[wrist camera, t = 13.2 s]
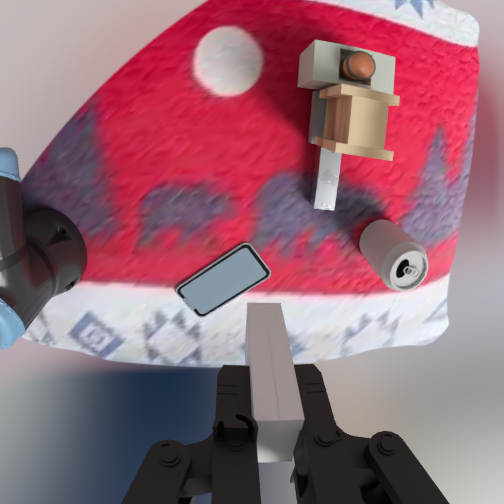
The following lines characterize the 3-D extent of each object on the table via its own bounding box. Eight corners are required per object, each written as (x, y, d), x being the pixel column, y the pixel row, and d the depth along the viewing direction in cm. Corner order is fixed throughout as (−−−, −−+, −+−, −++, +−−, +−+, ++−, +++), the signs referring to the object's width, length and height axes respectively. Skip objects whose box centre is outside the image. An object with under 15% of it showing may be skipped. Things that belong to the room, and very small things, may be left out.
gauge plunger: (335, 79, 33) (346, 75, 30) (337, 53, 32) (348, 47, 28) (362, 84, 33) (374, 81, 30) (364, 59, 32) (376, 54, 28)
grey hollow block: (297, 87, 41) (312, 79, 31) (299, 55, 39) (315, 39, 30) (363, 97, 41) (392, 95, 32) (365, 66, 39) (395, 57, 30)
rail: (309, 203, 48) (314, 208, 45) (321, 90, 41) (326, 88, 38) (328, 204, 48) (334, 210, 45) (341, 93, 41) (347, 92, 38)
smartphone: (273, 275, 52) (200, 319, 55) (273, 272, 53) (201, 317, 56) (247, 240, 49) (173, 289, 52) (247, 238, 50) (173, 287, 53)
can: (366, 212, 48) (399, 240, 37) (404, 223, 49) (440, 253, 38) (351, 254, 51) (377, 291, 40) (388, 263, 52) (419, 299, 41)
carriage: (304, 140, 43) (332, 152, 30) (308, 92, 40) (338, 83, 27) (351, 146, 43) (394, 161, 30) (356, 100, 40) (402, 97, 27)
